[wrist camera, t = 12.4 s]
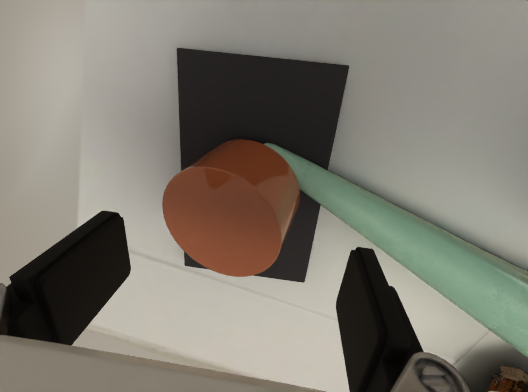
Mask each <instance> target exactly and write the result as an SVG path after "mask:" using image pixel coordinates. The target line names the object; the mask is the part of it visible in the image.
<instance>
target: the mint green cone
mask: <svg viewBox="0 0 528 392" xmlns="http://www.w3.org/2000/svg"><path fill="white" fill-rule="evenodd" d="M264 145H266V146H268V147H270V148H271V149H273V150H274V151H276V152H277V153H278V154H280V155H281V156H282V157H283V158H284V159H285V160H286V162H287V163H288V164H289V165H290V167H291V168H292V170H293V172H294V174H295V176H296V178H297V181H298V184H299V189H300V190H302V191H303V192H304V193H306V194H307V195H308V196H310V197H311V198H312V199H314V200H315V201H317V202H318V203H319V204H321V205H322V206H323V207H325V208H326V209H327V210H329V211H330V212H331V213H333V214H334V215H335V216H337V217H338V218H339V219H341V220H342V221H343V222H345V223H346V224H347V225H349V226H350V227H351V228H353V229H354V230H356V231H357V232H358V233H360V234H361V235H362V236H364V237H365V238H366V239H368V240H369V241H370V242H372V243H373V244H374V245H376V246H377V247H378V248H380V249H381V250H383V251H384V252H385V253H387V254H388V255H389V256H391V257H392V258H393V259H395V260H396V261H397V262H399V263H400V264H401V265H403V266H404V267H405V268H407V269H408V270H410V271H411V272H412V273H414V274H415V275H416V276H418V277H419V278H420V279H422V280H423V281H424V282H426V283H427V284H428V285H430V286H431V287H432V288H434V289H435V290H436V291H438V292H439V293H440V294H442V295H443V296H444V297H446V298H447V299H449V300H450V301H451V302H453V303H454V304H455V305H457V306H458V307H459V308H461V309H462V310H463V311H465V312H466V313H467V314H469V315H470V316H471V317H473V318H474V319H475V320H477V321H478V322H479V323H481V324H482V325H483V326H485V327H486V328H488V329H489V330H490V331H492V332H493V333H494V334H496V335H497V336H498V337H500V338H501V339H502V340H504V341H505V342H506V343H508V344H509V345H511V346H512V347H513V348H515V349H516V350H517V351H519V352H520V353H522V354H523V355H525V356H526V357H528V272H527V271H525V270H523V269H521V268H519V267H517V266H515V265H513V264H511V263H509V262H507V261H505V260H502V259H500V258H498V257H496V256H494V255H492V254H490V253H488V252H486V251H484V250H482V249H480V248H478V247H476V246H474V245H472V244H470V243H468V242H466V241H464V240H462V239H460V238H458V237H456V236H454V235H452V234H450V233H448V232H446V231H444V230H443V229H441V228H439V227H437V226H435V225H433V224H431V223H429V222H427V221H425V220H423V219H421V218H419V217H417V216H415V215H413V214H411V213H409V212H407V211H405V210H403V209H402V208H400V207H398V206H396V205H394V204H392V203H390V202H388V201H386V200H384V199H382V198H380V197H378V196H376V195H374V194H372V193H370V192H368V191H366V190H364V189H363V188H361V187H359V186H357V185H355V184H353V183H351V182H349V181H347V180H345V179H343V178H341V177H339V176H337V175H335V174H333V173H331V172H329V171H327V170H326V169H324V168H322V167H320V166H318V165H316V164H314V163H312V162H310V161H308V160H306V159H304V158H302V157H300V156H298V155H296V154H294V153H292V152H290V151H288V150H286V149H283V148H281V147H279V146H277V145H275V144H271V143H265V144H264Z"/></svg>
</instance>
